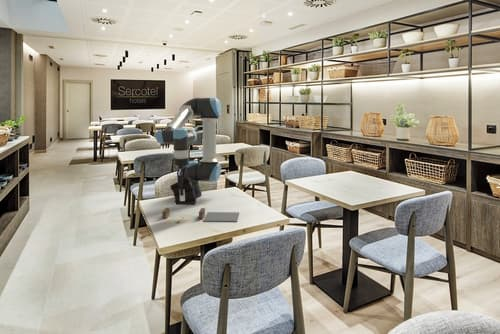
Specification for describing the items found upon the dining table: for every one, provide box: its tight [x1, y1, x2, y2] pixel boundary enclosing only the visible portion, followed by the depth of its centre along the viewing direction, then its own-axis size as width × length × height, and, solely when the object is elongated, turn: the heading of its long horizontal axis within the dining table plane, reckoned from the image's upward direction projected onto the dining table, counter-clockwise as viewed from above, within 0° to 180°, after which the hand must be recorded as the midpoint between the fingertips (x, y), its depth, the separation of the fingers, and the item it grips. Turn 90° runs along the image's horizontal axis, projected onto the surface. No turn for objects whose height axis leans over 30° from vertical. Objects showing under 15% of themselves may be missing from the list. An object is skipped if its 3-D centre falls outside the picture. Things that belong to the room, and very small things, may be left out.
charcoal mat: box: [202, 211, 240, 223], centre depth 191 cm, size 14×18×1 cm
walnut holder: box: [161, 207, 206, 220], centre depth 192 cm, size 22×7×4 cm, turn 87°
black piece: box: [169, 177, 197, 206], centre depth 190 cm, size 4×13×15 cm, turn 85°
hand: (183, 199), depth 191 cm, fingers closed on black piece, 4 cm apart
